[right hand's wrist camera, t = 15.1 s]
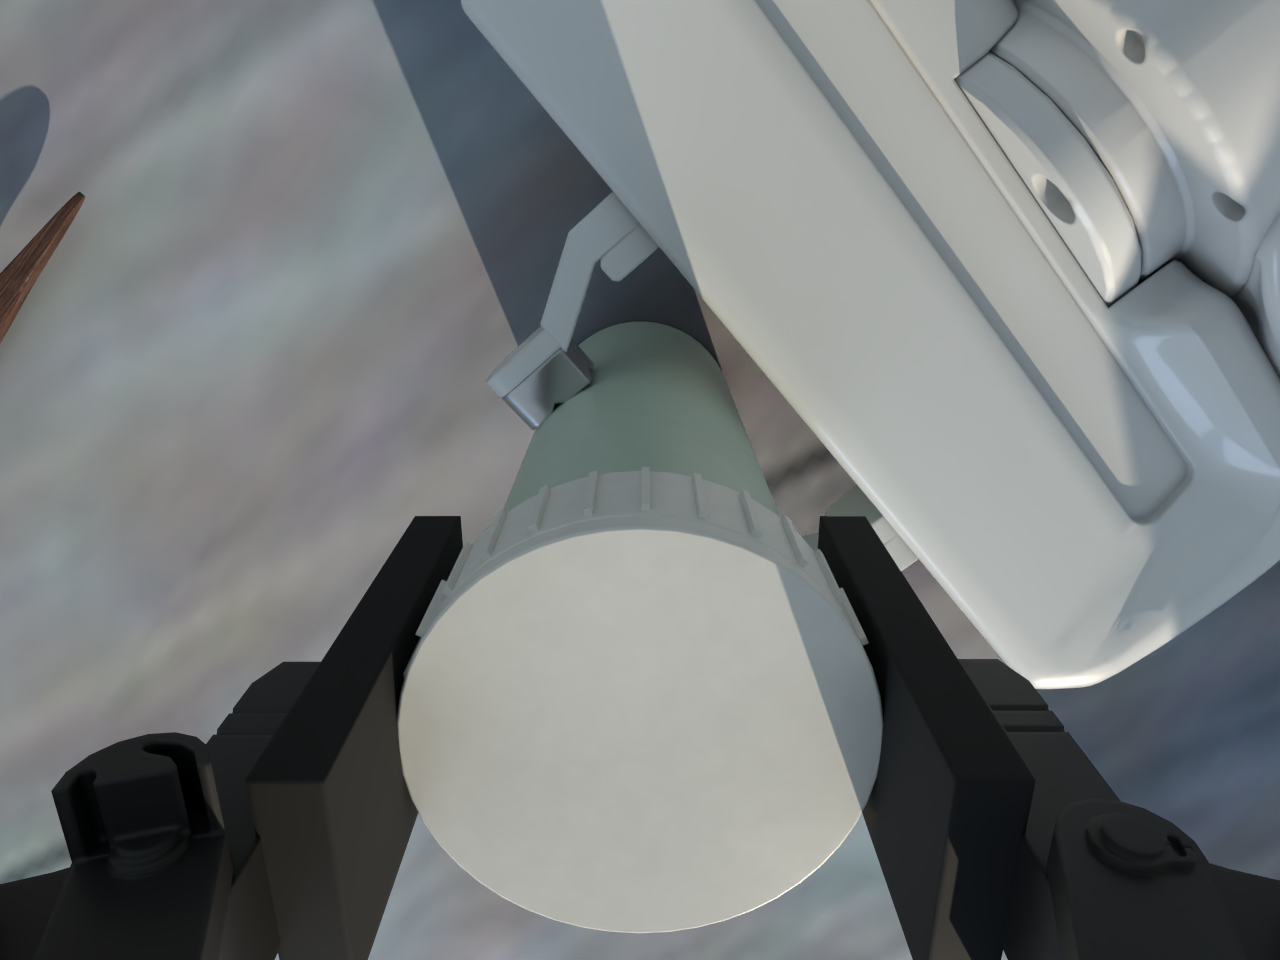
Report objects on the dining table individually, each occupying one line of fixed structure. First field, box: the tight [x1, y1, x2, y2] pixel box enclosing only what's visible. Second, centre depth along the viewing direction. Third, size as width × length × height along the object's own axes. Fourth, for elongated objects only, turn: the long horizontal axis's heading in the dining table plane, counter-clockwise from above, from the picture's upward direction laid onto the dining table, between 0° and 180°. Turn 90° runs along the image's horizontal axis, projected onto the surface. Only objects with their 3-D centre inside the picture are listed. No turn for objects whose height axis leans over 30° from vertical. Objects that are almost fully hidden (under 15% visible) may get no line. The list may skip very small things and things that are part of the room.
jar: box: [503, 321, 780, 517], centre depth 18 cm, size 5×5×15 cm
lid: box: [397, 467, 883, 933], centre depth 11 cm, size 6×6×2 cm
